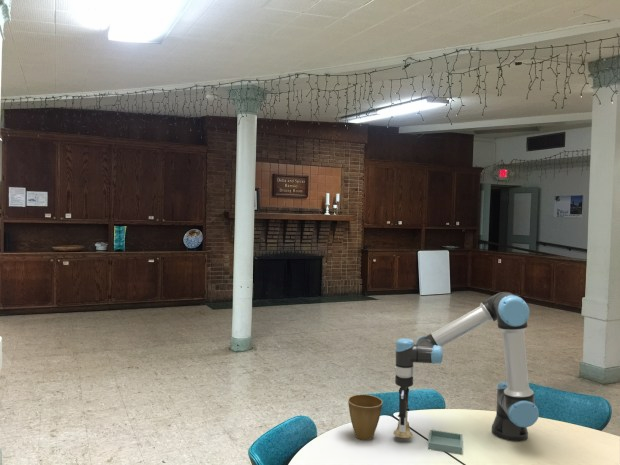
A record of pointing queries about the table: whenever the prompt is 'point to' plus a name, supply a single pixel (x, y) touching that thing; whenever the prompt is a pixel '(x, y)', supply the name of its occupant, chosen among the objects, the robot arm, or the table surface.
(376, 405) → the plant pot
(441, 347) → the robot arm
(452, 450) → the tray
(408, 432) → the hand bell
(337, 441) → the table surface
